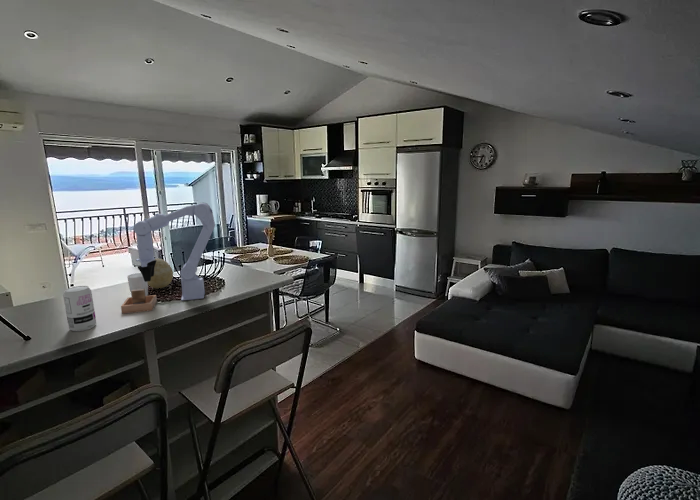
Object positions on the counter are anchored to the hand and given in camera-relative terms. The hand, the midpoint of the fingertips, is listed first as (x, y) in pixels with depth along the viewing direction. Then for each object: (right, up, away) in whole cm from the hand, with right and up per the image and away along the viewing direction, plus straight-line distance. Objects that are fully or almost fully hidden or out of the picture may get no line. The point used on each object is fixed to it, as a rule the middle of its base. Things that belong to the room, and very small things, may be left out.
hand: (149, 278), depth 157 cm
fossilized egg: (-6, -6, +21) cm, 22 cm away
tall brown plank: (-1, -11, -6) cm, 12 cm away
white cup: (-10, -9, +9) cm, 16 cm away
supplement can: (-10, -16, -25) cm, 32 cm away
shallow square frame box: (-1, -12, -6) cm, 13 cm away
